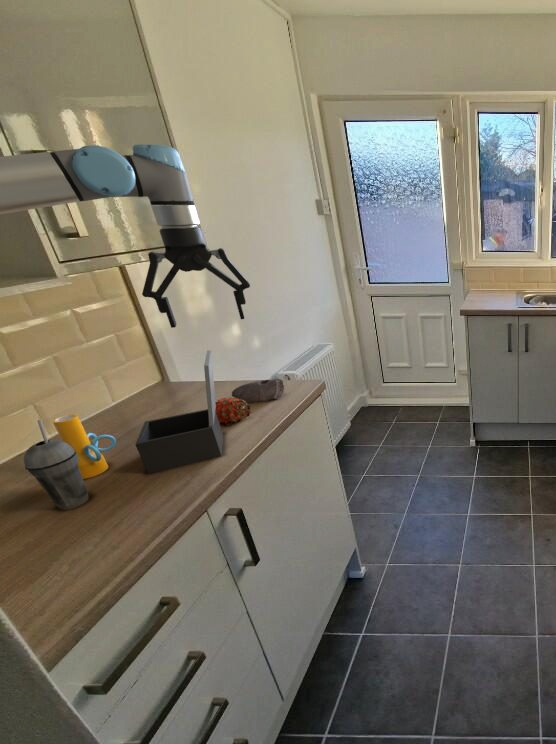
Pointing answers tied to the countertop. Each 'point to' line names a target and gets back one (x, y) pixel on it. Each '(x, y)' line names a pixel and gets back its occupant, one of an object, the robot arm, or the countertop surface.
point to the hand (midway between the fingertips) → (209, 322)
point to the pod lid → (210, 387)
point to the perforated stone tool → (260, 391)
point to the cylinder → (83, 445)
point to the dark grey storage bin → (179, 441)
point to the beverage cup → (57, 471)
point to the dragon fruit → (231, 410)
